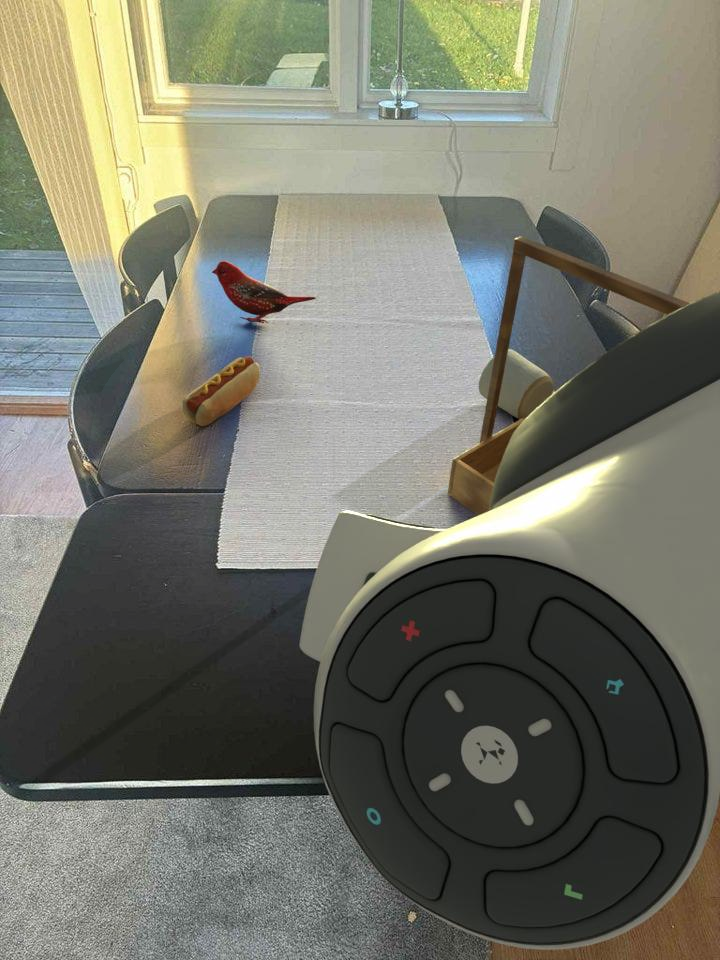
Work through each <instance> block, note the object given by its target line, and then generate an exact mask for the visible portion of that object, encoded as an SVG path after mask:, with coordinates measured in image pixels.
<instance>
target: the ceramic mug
mask: <svg viewBox="0 0 720 960" xmlns="http://www.w3.org/2000/svg"><path fill="white" fill-rule="evenodd" d="M494 358H495V355H494V356H492V357H491V359H489V361H488V362H487V363H486V365H485V366H484V368H483V370H482V372H481V373H480V374H481V375H480V377H479V380H478V392H479V394H480V395H481V396H482V398H484V399H486V400H487V398H488V392H489V386H490V380H491V375H492V369H493V363H494ZM554 392H555V383H554V380H553V379H552V377H551V376H550V375H549V374H548V373H547V372H546V371H544V370H543V369H541V368H540V367H538V366H537V365H536V364H534V363H533V362H531V361H529V360H528V359H526V358H525V357H524V356H522V355H521V354H520V353H518V352H517V351H515V350H513V349H510V348H508V353H507V358H506V364H505V369H504V374H503V380H502V385H501V390H500V396H499V401H498V406H497V407H499V408H500V409H502V410H504V411H505V412H507V413H508V414H509V415H511V416H512V417H515V418H516V419H518V420H520V419H522V418H525V419H526V418H527V417H528V416H529V415H530V414H531V413H532V412H533V411H534V410H535V409H536V408H537V407H538V406H539V405H541V404H542V403H543V402H544V401H545V400H546V399H547V398H548V397H550V396H551V395H552V394H553V393H554Z"/></svg>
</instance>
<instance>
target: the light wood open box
mask: <svg viewBox="0 0 720 960" xmlns="http://www.w3.org/2000/svg"><path fill="white" fill-rule="evenodd" d="M524 420H525V418H522V419H518V420H517V421H515V422H514V423H512V424H510V425H509V426H506V427H505V428H503V429H502V430H500V431H498V432H496V433H495V434H492V437H490V438H488V439H486V440H485V441H483V442H481V443H480V442H479V443H480V444H479V443H478V444H476V445H474V446H473V447H471V448H470V449H467V450H466V451H464V452H462V453H460V454H459V455H457V456H456V457H454V458H453V459H452V460H451V468H450V473H449V481H448V488H447V495H448V496H449V497H451V498H452V499H454V500H455V501H457V502H458V503H460V504H461V505H462V506H464V507H465V508H467V509H468V510H469V511H470V512H472V513H474V514H475V515H476V516H479V515H481V514H483V513H486V512H488V511H490V509H489V508H490V500H491V495H492V490H493V486H494V482H495V478H496V475H497V472H498V469H499V466H500V464H501V461H502V458H503V456H504V453H505V450H506V448H507V446H508V444H509V441H510V439H511V437H512V435H513V433H514V432H515V430H516V429H517V428H518V426H519V425H520V424H521V423H522V422H523V421H524Z"/></svg>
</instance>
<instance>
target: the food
mask: <svg viewBox="0 0 720 960" xmlns="http://www.w3.org/2000/svg"><path fill="white" fill-rule="evenodd" d="M260 369H261V368H260V365H259V363H258V362H255V360H254V358H253V357H252V356H250V355H245V356H244V357H243V358H242V357H237V358H235V359H234V360H233V361H232V362H229V364H227V365H226V366H225V367H223V368H222V369H220V370H219V371H217V373H216V374H214V375H213V376H211V377H209V378H208V379H207V380H206V381H205V382H203V384H201V385H199V386H198V387H196V388H195V389H194V390H193V391H191V392H190V393H189V394H188V395H186V396H185V397H184V398H183V399H182V411H183V414H184V416H185V417H186V418H187V419H188V420H189V421H190V422H191V423H193V424H194V425H195V424H197V425H198V426H201V427H206V426H209V425H210V424H212V423H213V422H214V421H216V420H217V419H218V418H220V417H222V416H224V415H226V414H228V413H229V412H230V411H231V410H233V409H234V408H235V407H236V406H237V405H238V404H240V403H241V402H242V401H244V400H245V399H246V398H247V397H248V396H249V395H251V393H252V392H253V391H254V390H255V389H256V387H257V385H258V384H259V381H260V377H261V370H260Z"/></svg>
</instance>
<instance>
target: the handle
mask: <svg viewBox="0 0 720 960" xmlns="http://www.w3.org/2000/svg"><path fill="white" fill-rule="evenodd" d="M526 257H527V258H529V259H532V260H534V261H537V262H540V263H541V264H544V265H547V266H549V267H551V268H554V269H557V270H559V271H561V272H563V273H565V274H568V275H570V276H573V277H575V278H577V279H581V280H583V281H585V282H587V283H590V284H592V285H595V286H597V287H600V288H602V289H604V290H607V291H608V292H609V291H610V292H612V293H614V294H617V295H619V296H622V297H624V298H626V299H629V300H631V301H634V302H635V303H639V304H641V305H643V306H645V307H648V308H650V309H652V310H655V311H658V312H660V313H663V314H665V315H666V316H667V315H668V314H670V313H672V312H674V311H676V310H678V309H680V308H682V307H684V306H685V305H688V304H690V303H691V302H688V301H686V300H683V299H681V298H678V297H676V296H673V295H670V294H668V293H665V292H663V291H661V290H658V289H656V288H653V287H650V286H648V285H645V284H643V283H640V282H638V281H635V280H633V279H630V278H628V277H625V276H623V275H620V274H618V273H616V272H614V271H613V272H612V271H610V270H608V269H606V268H602V267H600V266H597V265H595V264H593V263H590V262H588V261H584V260H583V259H580V258H577V257H575V256H572V255H570V254H567V253H565V252H563V251H560V250H558V249H555V248H552V247H550V246H547V245H545V244H542V243H540V242H537V241H534V240H533V239H532V240H531V239H530V238H528V237H527V238H526V237H525V236H519V237H516V238H514V241H513V246H512V255H511V262H510V266H509V267H510V268H509V272H508V279H507V284H506V289H505V295H504V301H503V306H502V313H501V317H500V324H499V330H498V335H497V341H496V346H495V352H494V356H495V358H494V363H493V369H492V375H491V380H490V386H489V392H488V398H487V399H486V405H485V409H484V416H483V420H482V421H483V422H482V425H481V426H482V427H481V432H480V438H479V443H478V444H480V443H481V442H483V441H485V440H486V439H488V438H490V437H492V436H493V432H494V426H495V422H496V416H497V411H498V407H499V406H498V401H499V396H500V390H501V385H502V380H503V374H504V369H505V364H506V358H507V353H508V349H510V348H509V347H510V341H511V337H512V331H513V326H514V320H515V316H516V310H517V306H518V305H517V304H518V299H519V294H520V288H521V283H522V277H523V273H524V268H525V262H526Z"/></svg>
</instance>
